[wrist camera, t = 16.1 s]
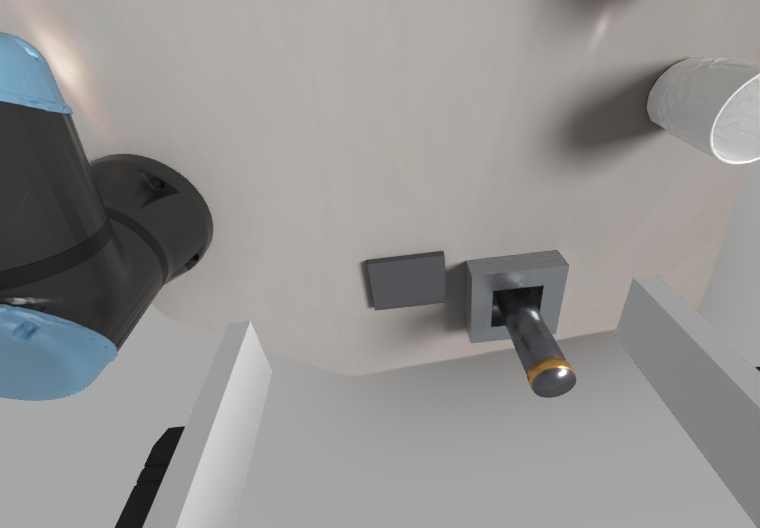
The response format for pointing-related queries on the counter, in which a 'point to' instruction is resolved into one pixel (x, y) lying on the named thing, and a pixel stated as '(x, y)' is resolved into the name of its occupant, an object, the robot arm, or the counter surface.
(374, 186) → the counter surface
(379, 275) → the mount
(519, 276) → the socket
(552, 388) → the cylinder
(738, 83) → the white cup
